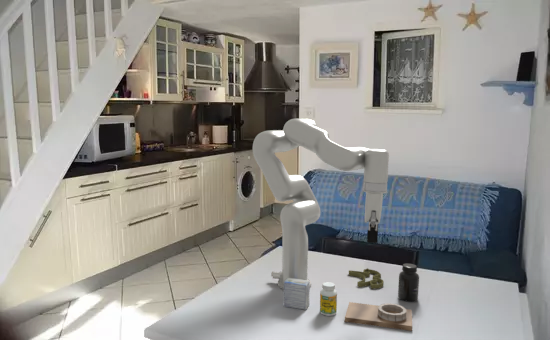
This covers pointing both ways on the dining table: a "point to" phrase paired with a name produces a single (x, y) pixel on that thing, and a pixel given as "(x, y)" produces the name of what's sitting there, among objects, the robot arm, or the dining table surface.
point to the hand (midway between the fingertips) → (372, 238)
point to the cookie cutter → (367, 273)
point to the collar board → (372, 317)
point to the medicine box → (296, 293)
